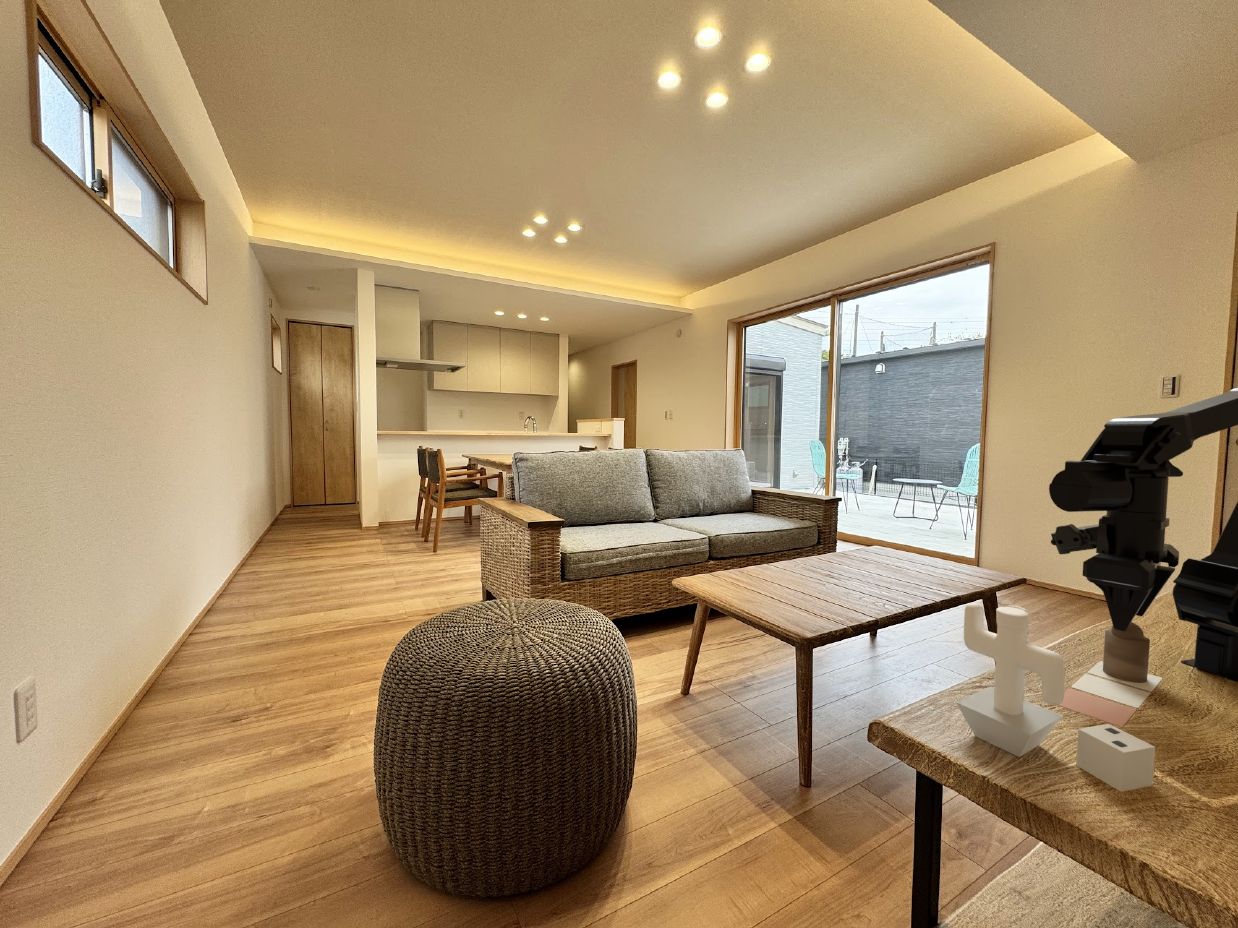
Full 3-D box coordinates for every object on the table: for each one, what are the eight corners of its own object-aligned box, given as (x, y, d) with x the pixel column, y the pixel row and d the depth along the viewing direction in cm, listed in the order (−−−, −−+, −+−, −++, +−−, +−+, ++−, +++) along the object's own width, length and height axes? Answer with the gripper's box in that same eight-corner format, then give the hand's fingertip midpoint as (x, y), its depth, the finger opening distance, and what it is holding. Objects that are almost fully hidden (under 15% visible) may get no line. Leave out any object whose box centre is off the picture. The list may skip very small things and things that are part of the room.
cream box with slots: (1105, 760, 54) (1108, 722, 54) (1152, 786, 50) (1155, 745, 50) (1076, 765, 53) (1078, 727, 53) (1121, 792, 50) (1123, 751, 49)
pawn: (1118, 666, 74) (1121, 614, 74) (1155, 680, 70) (1159, 626, 69) (1094, 669, 73) (1097, 617, 73) (1131, 684, 69) (1134, 628, 68)
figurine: (1041, 775, 52) (1049, 629, 51) (944, 727, 60) (949, 601, 59) (1074, 753, 55) (1082, 616, 54) (978, 711, 63) (983, 591, 62)
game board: (1094, 660, 77) (1094, 657, 77) (1172, 681, 71) (1172, 678, 71) (1041, 705, 65) (1041, 701, 65) (1129, 736, 58) (1130, 732, 58)
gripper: (1080, 497, 82) (1074, 594, 83) (1037, 509, 71) (1032, 619, 72) (1183, 506, 73) (1175, 614, 74) (1151, 520, 62) (1143, 646, 63)
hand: (1128, 622), depth 71 cm, fingers open, 9 cm apart
